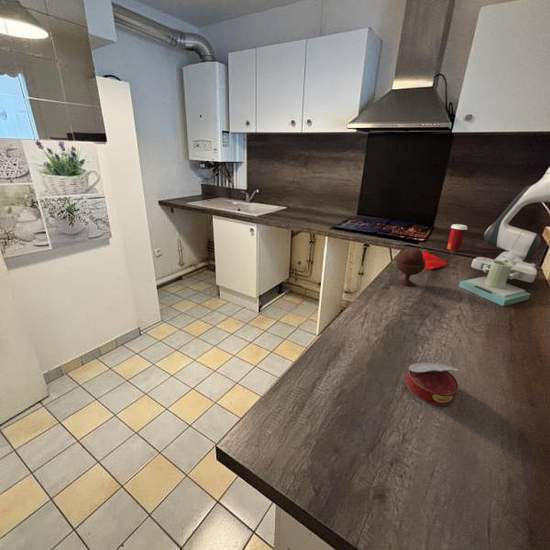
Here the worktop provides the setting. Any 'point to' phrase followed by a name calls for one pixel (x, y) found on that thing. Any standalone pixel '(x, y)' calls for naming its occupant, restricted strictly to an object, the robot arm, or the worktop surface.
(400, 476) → the worktop surface
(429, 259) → the cloth
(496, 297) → the scale
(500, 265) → the cup
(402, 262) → the ice cream bowl
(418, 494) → the worktop surface
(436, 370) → the canned food
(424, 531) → the worktop surface
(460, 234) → the paper cup
